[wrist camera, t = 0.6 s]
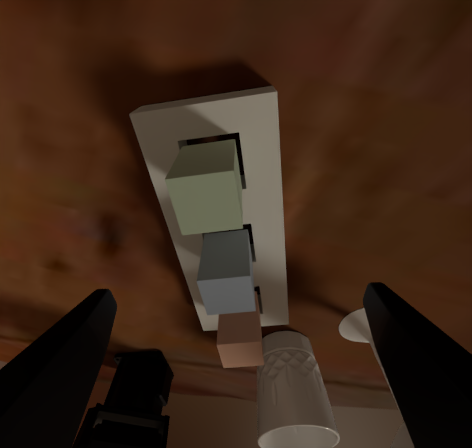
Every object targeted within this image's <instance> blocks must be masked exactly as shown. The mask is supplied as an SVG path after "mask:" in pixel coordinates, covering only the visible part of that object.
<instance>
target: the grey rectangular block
mask: <svg viewBox="0 0 472 448" xmlns="http://www.w3.org/2000/svg"><path fill="white" fill-rule="evenodd" d="M197 284H198V287H199V291H200V294H201V297H202V300H203V303H204V306H205V310H206V313H207V315H217V314H229V313H240V312H252V311H256V307H255V292H254V277H253V262H252V255H251V248H250V241H249V234H248V229H246V230H237V231H228V232H219V233H210V234H205V235H204V241H203V247H202V252H201V258H200V264H199V270H198V276H197Z"/></svg>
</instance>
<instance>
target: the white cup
mask: <svg viewBox="0 0 472 448" xmlns="http://www.w3.org/2000/svg"><path fill="white" fill-rule="evenodd" d="M262 345H263V357H264V365H260V366H257V426H258V427H257V428H258V429H257V430H258V445H259V446H260V447H261V448H333V447H334V446H336V445H337V444H338V442H339V440H340V436H339V433H338V430H337V426H336V423H335V420H334V416H333V413H332V409H331V406H330V403H329V399H328V396H327V392H326V389H325V386H324V384H323V380H322V376H321V373H320V371H319V367H318V364H317V361H316V360H315V357H314V353H313V350H312V346H311V344H310V342H309V339H308V338H307V337H306V336H304V335H302V334H301V333H298V332H293V331H279V332H274V333H272V334H269V335H267V336H265V337H264V338H263V339H262Z"/></svg>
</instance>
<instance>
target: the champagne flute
mask: <svg viewBox="0 0 472 448" xmlns="http://www.w3.org/2000/svg"><path fill="white" fill-rule="evenodd" d="M339 332H340V334H341V335H342V336H343V337H344V338H346V339H348V340H351V341H357V342H368V343H370V344H371V347H372V349H373V351H374V354H375V356H376V358H377V360H378V363H379V365H380V367H381V370H382V372H383V374H384V376H385V379H386V381H387V383H388V386H389V388H390V390H391V392H392V389H391V387H390V384H389V382H388V379H387V377H386V374H385V372H384V369H383V367H382V364H381V361H380V359H379V356H378V354H377V351H376V348H375V345H374V342H373V338H372V334H371V331H370V327H369V323H368V320H367V316H366V312H365V309H364V308H363V309H359V310H357V311H354V312H352V313H350V314H349V315H347V316H346V317H345V318H344V319H343V320H342V321H341V323H340V325H339ZM392 395H393V397H394V394H393V392H392ZM394 399H395V397H394ZM395 402H396V400H395ZM396 404H397V402H396ZM397 406H398V405H397ZM398 408H399V407H398ZM399 411H400V410H399ZM400 413H401V412H400ZM390 448H414V445H413V443H412V440H411V438H410V435H409V433H408V430H407V427H406V425H405V422H403V423H402V424H401V426H400V427H399V428H398V431H397V433H396V435H395V438H394V440H393V442H392V445H391V447H390Z"/></svg>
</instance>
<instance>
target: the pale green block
mask: <svg viewBox="0 0 472 448" xmlns="http://www.w3.org/2000/svg"><path fill="white" fill-rule="evenodd" d="M165 182H166V185H167V189H168V192H169V195H170V198H171V201H172V204H173V208H174V211H175V214H176V217H177V220H178V224H179V227H180V230H181V233H182V235H190V234H199V233H208V232H217V231H226V230H235V229H243V210H242V185H241V178H240V171H239V164H238V157H237V150H236V143H235V139H232V140H225V141H218V142H210V143H203V144H196V145H189V146H182V148H181V150H180V152H179V154H178V155H177V157H176V159H175V161H174V163H173V165H172V167H171V169H170V170H169V172H168V174H167V176H166V178H165Z"/></svg>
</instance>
